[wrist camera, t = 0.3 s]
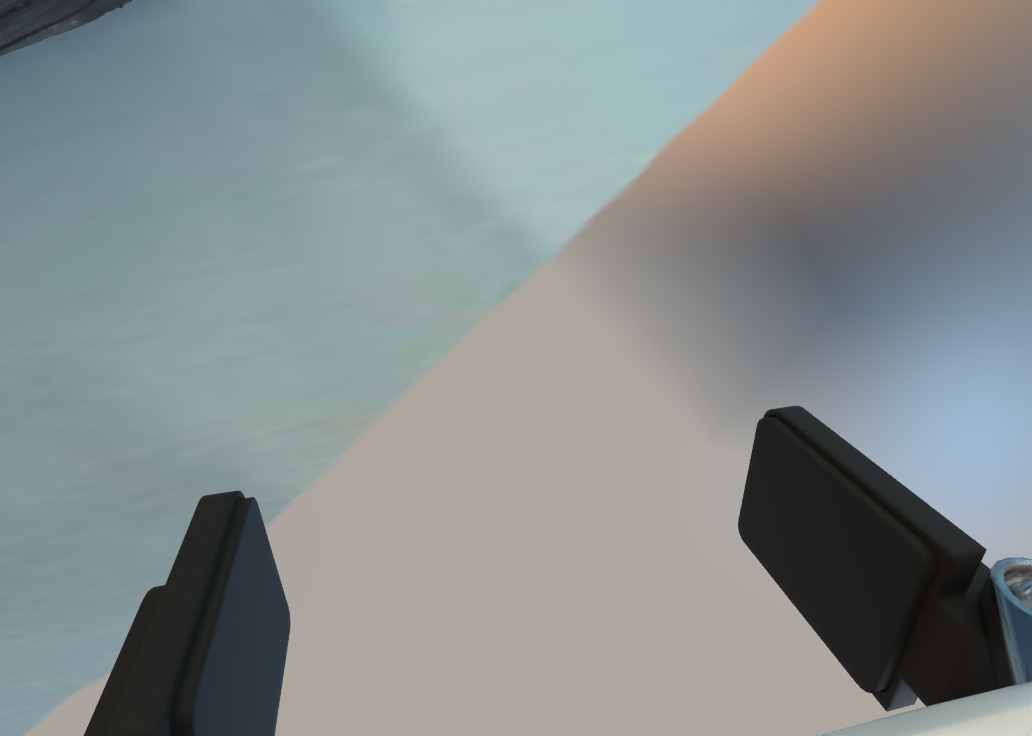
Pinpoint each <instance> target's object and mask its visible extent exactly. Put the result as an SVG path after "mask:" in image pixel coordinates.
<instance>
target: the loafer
mask: <svg viewBox="0 0 1032 736" xmlns="http://www.w3.org/2000/svg"><path fill="white" fill-rule="evenodd" d="M131 1H132V0H0V56H2V55H4V54H6V53H9V52H11V51H13V50H16V49H19V48H22V47H25V46H28V45H30V44H33V43H35V42H38V41H41V40H43V39H46V38H48V37H50V36H52V35H57V34H60V33H63V32H65V31H68V30H71V29H74V28H77V27H80V26H82V25H84V24H86V23H88V22H90V21H93V20H95V19H97V18H99V17H100V16H102V15H104V14H105V13H106V12H110V11H112V10H113V9H115V8H117V7H119V6H120V7H119V8H122V7H123V5H124V4H126V3H128V2H131Z"/></svg>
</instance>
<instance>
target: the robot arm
mask: <svg viewBox="0 0 1032 736" xmlns="http://www.w3.org/2000/svg"><path fill="white" fill-rule="evenodd" d="M738 529H739V533H740V536H741V538H742V540H743V541H744V543H745V544H746V545H747V546H748V548H749V549H750V550H751V552H752V553H753V554H754V555H755V556H756V558H757V559H758V560H759V561H760V563H761V564H762V565H763V566H764V568H765V569H766V570H767V571H768V573H769V574H770V575H771V577H772V578H773V579H774V580H775V582H776V583H777V584H778V585H779V587H780V588H781V589H782V590H783V592H784V593H785V594H786V595H787V597H788V598H789V599H790V600H791V602H792V603H793V604H794V605H795V607H796V608H797V609H798V610H799V612H800V613H801V614H802V615H803V617H804V618H805V619H806V621H807V622H808V623H809V624H810V625H811V627H812V628H813V629H814V631H815V632H816V633H817V634H818V636H819V637H820V638H821V639H822V641H823V642H824V643H825V644H826V646H827V647H828V648H829V649H830V650H831V652H832V653H833V654H834V656H835V657H836V658H837V659H838V661H839V662H840V663H841V664H842V666H843V667H844V668H845V669H846V671H847V672H848V673H849V674H850V676H851V677H852V678H853V679H854V681H855V682H856V683H857V684H858V685H859V687H860V688H861V689H863V690H864V691H866V692H869V693H872V694H873V695H874V696H875V698H876V699H877V700H878V702H880V704H881V705H882V706H883V708H884V709H885V710H886V711H891V710H894V709H898V708H902V707H905V706H909V705H913V704H914V703H915V702H916V700H917V697H918V698H919V699H920V700H921V701H922V702H923V703H924V704H925V705H926V707H923V708H920V709H916V710H912V711H908V712H905V713H901V714H897V715H893V716H890V717H886V718H882V719H878V720H874V721H871V722H867V723H863V724H859V725H856V726H852V727H848V728H844V729H840V730H837V731H833V732H829V733H826V734H822V735H818V736H1032V559H1028V558H1021V557H1020V558H1005V559H1002V560H999V561H997V562H996V563H995V565H994V566H993V567H992V568H991V569H990V568H988V567H987V566H986V565H984V564H983V563H982V562H981V560H982V558H983V556H984V554H985V552H986V549H985V548H984V547H983V546H981V545H980V544H979V543H977V542H976V541H975V540H974V539H972V538H971V537H970V536H968V535H967V534H966V533H964V532H963V531H962V530H961V529H959V528H958V527H957V526H955V525H954V524H953V523H952V522H950V521H949V520H947V519H946V518H945V517H944V516H942V515H941V514H940V513H939V512H937V511H936V510H935V509H933V508H932V507H931V506H930V505H928V504H927V503H926V502H924V501H923V500H922V499H920V498H919V497H918V496H916V495H915V494H914V493H913V492H911V491H910V490H909V489H908V488H906V487H905V486H904V485H902V484H901V483H900V482H898V481H897V480H896V479H895V478H893V477H892V476H891V475H889V474H888V473H887V472H885V471H884V470H883V469H882V468H880V467H879V466H878V465H876V464H875V463H874V462H872V461H871V460H870V459H869V458H867V457H866V456H865V455H863V454H862V453H861V452H860V451H858V450H857V449H855V448H854V447H853V446H852V445H851V444H849V443H848V442H847V441H845V440H844V439H843V438H841V437H840V436H839V435H838V434H836V433H835V432H834V431H832V430H831V429H830V428H828V427H827V426H826V425H824V424H823V423H822V422H821V421H819V420H818V419H817V418H815V417H814V416H813V415H812V414H810V413H809V412H808V411H806V410H805V409H804V408H802V407H800V406H791V407H784V408H777V409H771V410H769V411H767V412H766V413H765V415H764V418H762V419H760V420H759V422H758V424H757V428H756V433H755V439H754V444H753V449H752V454H751V459H750V465H749V470H748V475H747V480H746V485H745V490H744V495H743V500H742V506H741V510H740V516H739V521H738ZM289 633H290V613H289V608H288V605H287V601H286V597H285V594H284V591H283V587H282V584H281V581H280V577H279V574H278V571H277V567H276V564H275V561H274V557H273V554H272V550H271V547H270V544H269V541H268V537H267V534H266V530H265V527H264V523H263V520H262V517H261V513H260V510H259V507H258V503H257V501H256V499H255V498H254V497H251V498H245V497H244V495H243V493H242V492H241V491H233V492H226V493H220V494H213V495H206V496H203V497H201V499H200V501H199V503H198V505H197V508H196V510H195V513H194V515H193V518H192V520H191V523H190V525H189V528H188V530H187V533H186V535H185V537H184V540H183V542H182V545H181V547H180V550H179V552H178V555H177V557H176V560H175V562H174V565H173V567H172V570H171V572H170V575H169V577H168V580H167V582H166V585H164V586H158V587H153V588H152V589H151V590H149V591H148V592H147V594H146V596H145V597H144V599H143V601H142V603H141V605H140V608H139V610H138V612H137V614H136V617H135V619H134V621H133V624H132V626H131V628H130V631H129V633H128V635H127V637H126V640H125V642H124V644H123V647H122V649H121V651H120V654H119V656H118V658H117V660H116V663H115V665H114V667H113V670H112V672H111V674H110V676H109V679H108V681H107V684H106V686H105V688H104V690H103V693H102V695H101V697H100V699H99V702H98V704H97V706H96V709H95V711H94V713H93V716H92V718H91V721H90V722H89V725H88V727H87V729H86V732H85V734H84V736H275V729H276V722H277V715H278V708H279V701H280V695H281V688H282V680H283V674H284V667H285V661H286V653H287V647H288V640H289Z"/></svg>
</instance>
